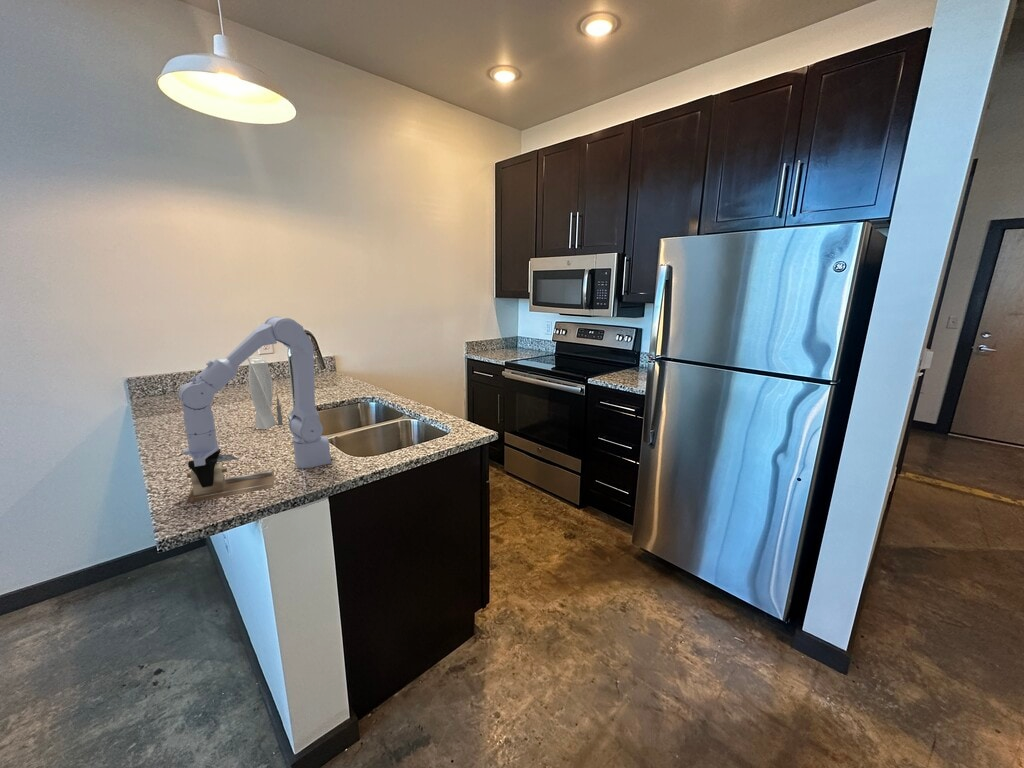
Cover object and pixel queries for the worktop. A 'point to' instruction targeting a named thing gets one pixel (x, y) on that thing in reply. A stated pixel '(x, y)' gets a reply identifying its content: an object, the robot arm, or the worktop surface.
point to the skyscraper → (262, 394)
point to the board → (238, 486)
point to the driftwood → (225, 457)
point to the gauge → (217, 483)
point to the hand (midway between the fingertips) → (209, 482)
